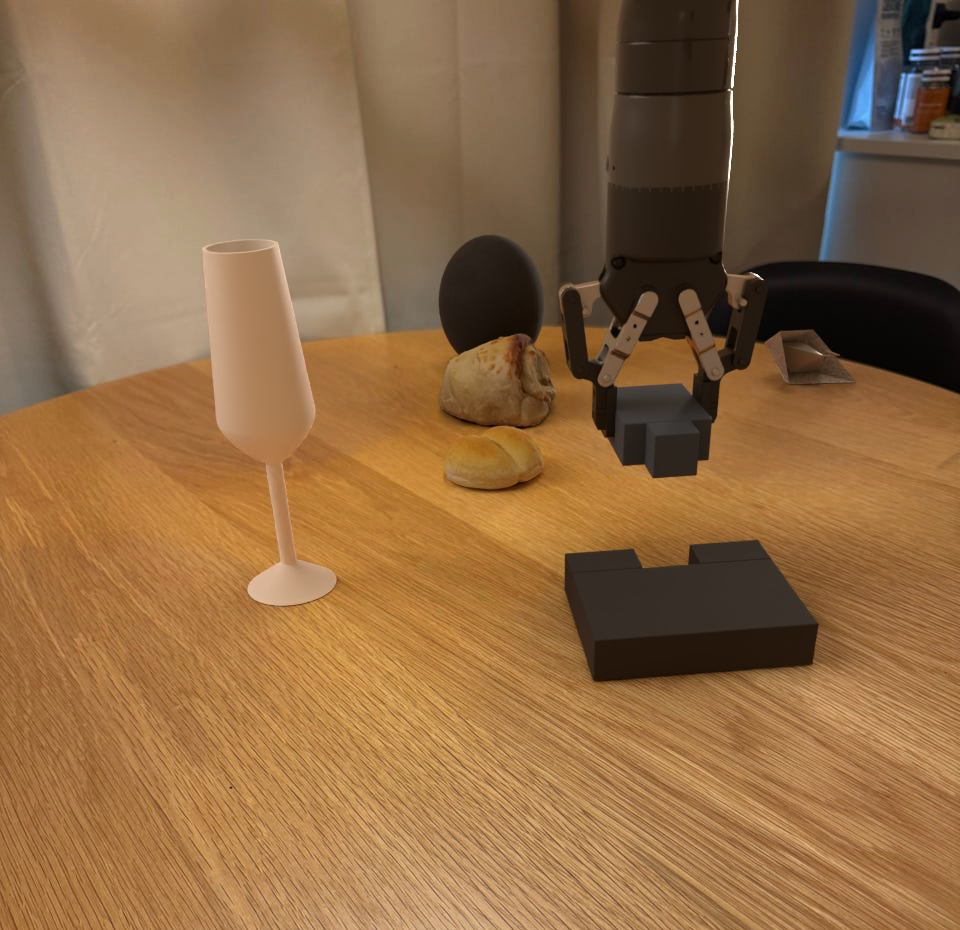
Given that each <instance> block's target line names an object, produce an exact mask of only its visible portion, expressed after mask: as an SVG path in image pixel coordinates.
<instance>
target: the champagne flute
mask: <svg viewBox="0 0 960 930" xmlns="http://www.w3.org/2000/svg"><path fill="white" fill-rule="evenodd" d="M201 254H202V255H201V256H202V265H203V277H204V279H203V280H204V292H205V303H206V313H207V315H206V316H207V324H208V326H207V327H208V337H209V338H208V339H209V351H210V364H211V373H212V374H211V375H212V384H213V385H212V386H213V397H214V399H213V400H214V409H215V421H216V424H217V427H218V429H219V430H220V431H221V433H222V434H223V436H224V437H225V438H226V439H227V440H228V441H229V442H230V444H232V445H233V446H234V447H235V448H237V449H238V450H239V451H241V452H243V453H244V454H246V455H247V456H248V457H250V458H252V459H253V460H255V461H257V462H259V463H262V464H265V471H266V477H267V478H266V479H267V484H268V491H269V498H270V503H271V509H272V515H273V522H274V527H275V534H276V541H277V547H278V554H279V560H280V561H278V562H276V563H275V564H273V565H272V566H270V567H269V568H266V569H265V570H263V571H262V572H260V573H259V574H257V575H256V576H254V578H252V579H251V580H250V581H249V583H248V585H247V588H246V590H247V594H248V595H249V597H250V598H251V599H252V600H254V601H256V602H258V603H260V604H265V605H268V606H276V607H277V606H278V607H280V606H281V607H284V606H285V607H286V606H296V605H301V604H305V603H311V602H313V601H316V600H318V599H320V598H322V597H324V596H326V595H327V594H328V593H330V592H331V591H332V590H334V588H335V586H336V584H337V582H338V581H337V580H338V579H337V575H336V573H335V572H334V571H332V570H331V569H329V568H328V567H326V566H322V565H319V564H316V563H312V562H309V561H305V560H303V559H298V558H297V553H296V547H295V540H294V533H293V527H292V519H291V513H290V507H289V500H288V493H287V487H286V479H285V473H284V466H283V462H284V461H285V460H287V459H288V458H290V457H291V456H292V455H293V454H294V453H295V451H296V450H297V449H298V448H299V447H300V445H301V444H302V443H303V442H304V441H305V439H306V438H307V437H308V435H309V433H310V431H311V430H312V427H313V425H314V422H315V420H316V413H317V412H316V411H317V410H316V405H315V401H314V396H313V392H312V388H311V383H310V378H309V374H308V370H307V365H306V360H305V356H304V352H303V347H302V343H301V338H300V334H299V329H298V325H297V319H296V316H295V311H294V308H293V302H292V297H291V293H290V289H289V285H288V280H287V275H286V271H285V267H284V262H283V258H282V252H281V249H280V244H279V242H278V241H276V240H272V239H264V238H263V239H261V238H254V239H253V238H251V239H249V238H248V239H234V240H233V239H232V240H225V241H219V242H214V243H211V244H208V245H205V246H203V247H202V248H201Z"/></svg>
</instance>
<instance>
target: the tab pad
mask: <svg viewBox="0 0 960 930" xmlns="http://www.w3.org/2000/svg"><path fill="white" fill-rule="evenodd" d="M712 424H713V423H712V418H711V417H710V416H709V414H708V413H707V412H706V411H705V410H704V408H703V407H702V406H701V405H700V404H699V403H698V402H697V401H696V399H695V398H694V397H693V396H692V393H691V392H690V391H689V389H688V388H687V387H686V386H685V385H684V384H683V383H682V382H679V383H678V382H677V383H663V384H662V383H661V384H648V385H631V386H617V410H616V414H615V436H614V437H613V438H607V440H608V442H609V444H610V446H611V448H612V449H613V452H614V453H615V455H616V456H617V458H618V460H619V462H620V464H621V466H622V467H629V466H644V467H645V468H646V470H647V471H648V473H649V475H650V476H651V478H652V479H666V478H678V477H679V478H680V477H694V476H697V475H698V464H699V462H704V461H709V459H710V450H711V449H710V447H711V439H712V438H711V436H712V427H713V426H712Z"/></svg>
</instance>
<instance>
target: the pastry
mask: <svg viewBox="0 0 960 930" xmlns="http://www.w3.org/2000/svg"><path fill="white" fill-rule="evenodd" d="M551 375H552V370H551V366H550V362H549V359H548V356H547V355H546V353H545V351H544V350H542V349H540V348H539V347H538V346H537V345H535V344H534V343H533V341H532V339H531V338H530V337H528V336H527V335H525V334H515V335H512V336H509V337H499V338H498V339H497V340H493V341H490V342H487V343H485V344H482V345H480V346H478V347H476V348H474V349H471V350H469V351H465V352H463V353H462V354H460V355H458V356H454V357H453V358H451V359H450V360H449V363H448V364H447V365H446V369H445V372H444V374H443V378H442V384H441V387H440V390H439V393H438V404H439V409H440V410H441V411H444V412H446V414H447V415H450V416H454V417H457V419H459V420H461V419H462V420H464V421H468V422H471V423H476V425H480V426H483V427H485V426H510V427H515V428H517V427H528V426H531V427H534V426H537V425H539V424H540V423H541V422H543V420H546V418H547V417H548V415H549V410H550V409H551V408H552V402H553V401H554V400H555V399H556V396H557V393H558V392H557V388H556V386H555V383H554V381H553V380H552V379H551Z"/></svg>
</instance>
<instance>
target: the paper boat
mask: <svg viewBox="0 0 960 930" xmlns="http://www.w3.org/2000/svg"><path fill="white" fill-rule="evenodd" d="M763 344H764V345H765V348H766V349H767V351H768V353H769V355H770V357H771V359H772V361H773V363H774V365H775V366H776V369H777V370H778V372H779V374H780V376H781V378H782V380H783V382H785V383H786V384H788V385H811V384H843V383H857V380H856V379H855V378H854V377H853V376H852V374H851V373H850V372H849V371H848V369H847V368H846V367H845V366H844V365H843V364H842V363H841V361H840V360H839V358H837V357H841V354H839V353H836V352H833V351H832V350H831V349H830V348H829V347H828V346H827V344H826V343H825V342H824V341H823V339H822V338H821V337H820V336H819V334H817V332H816V331H815V330H814V329H796V330H780V331H778V332H777V333H775V334H774V335H773V336H771V337H770V338H768V339H767V340H766V341H764V342H763Z"/></svg>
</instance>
